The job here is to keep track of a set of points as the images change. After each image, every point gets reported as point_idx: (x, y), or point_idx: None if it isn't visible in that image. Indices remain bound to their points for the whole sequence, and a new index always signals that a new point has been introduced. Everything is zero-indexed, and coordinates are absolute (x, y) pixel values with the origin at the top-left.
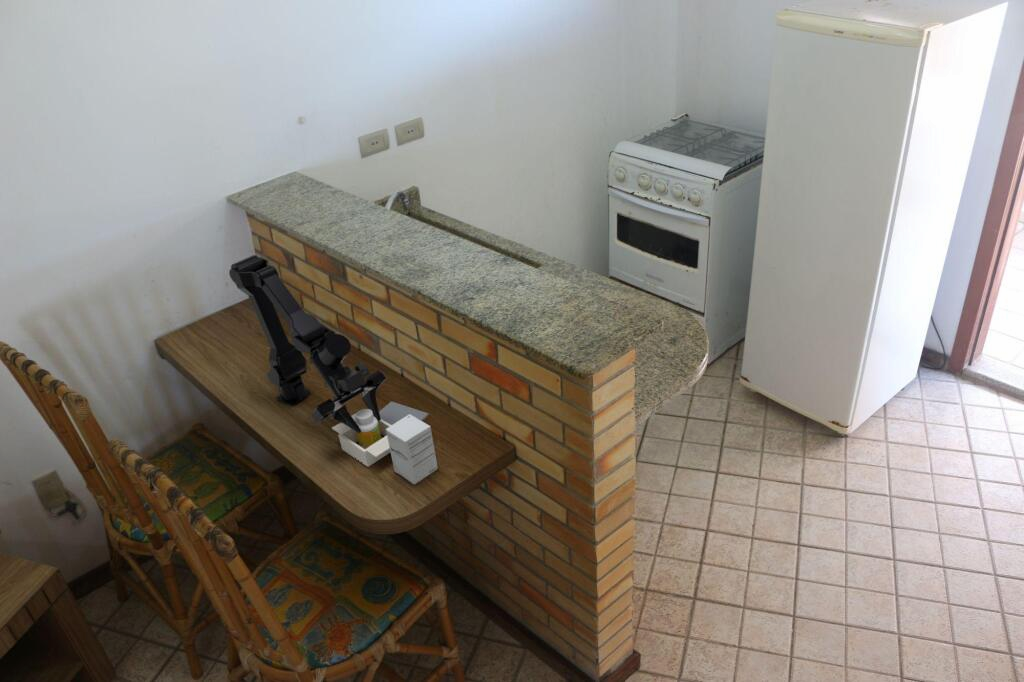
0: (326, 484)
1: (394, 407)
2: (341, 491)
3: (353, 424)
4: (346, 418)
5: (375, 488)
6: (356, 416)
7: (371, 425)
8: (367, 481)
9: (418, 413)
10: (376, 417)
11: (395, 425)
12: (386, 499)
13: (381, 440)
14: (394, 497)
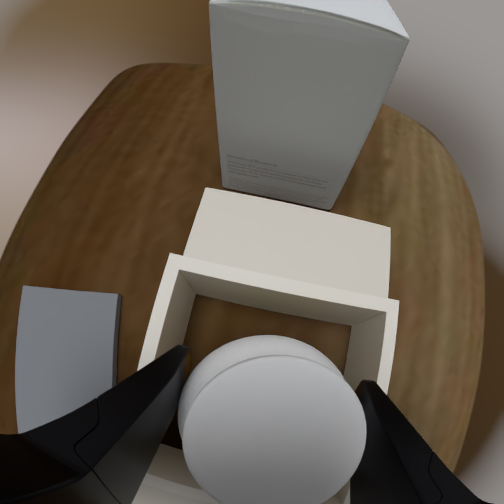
0: (472, 372)
1: (33, 427)
2: (470, 306)
3: (408, 428)
4: (454, 478)
5: (412, 222)
6: (350, 472)
7: (288, 347)
8: (409, 265)
9: (28, 321)
10: (181, 381)
11: (349, 10)
12: (414, 172)
13: (289, 282)
14: (397, 158)
